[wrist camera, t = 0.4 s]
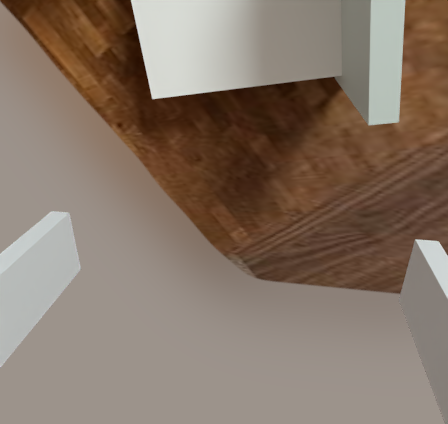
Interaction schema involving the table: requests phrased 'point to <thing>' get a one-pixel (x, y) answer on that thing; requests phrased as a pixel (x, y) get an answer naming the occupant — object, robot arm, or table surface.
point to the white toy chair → (275, 47)
